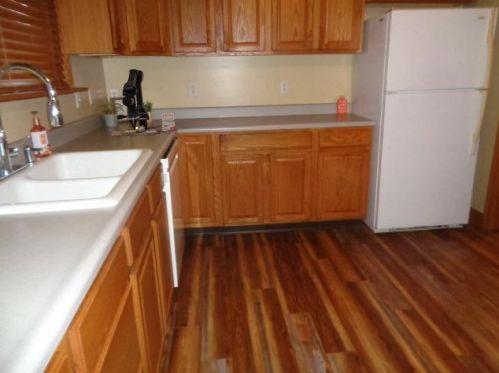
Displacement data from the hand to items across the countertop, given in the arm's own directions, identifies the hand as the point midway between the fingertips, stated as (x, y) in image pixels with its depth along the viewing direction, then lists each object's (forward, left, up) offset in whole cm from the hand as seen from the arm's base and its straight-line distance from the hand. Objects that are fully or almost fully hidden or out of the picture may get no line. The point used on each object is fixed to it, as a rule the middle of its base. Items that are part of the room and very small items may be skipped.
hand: (134, 129), depth 243 cm
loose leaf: (0, -1, -1) cm, 2 cm away
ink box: (-8, +22, -3) cm, 23 cm away
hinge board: (0, +1, -3) cm, 3 cm away
